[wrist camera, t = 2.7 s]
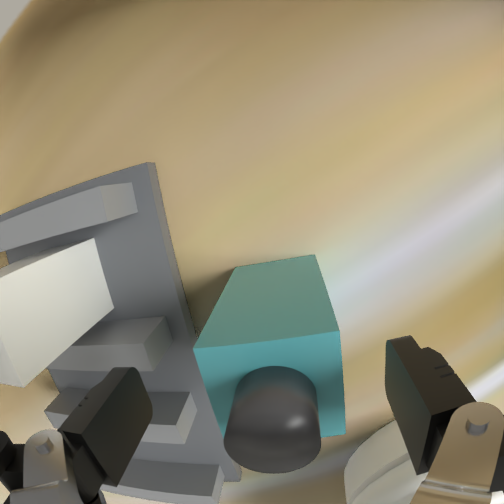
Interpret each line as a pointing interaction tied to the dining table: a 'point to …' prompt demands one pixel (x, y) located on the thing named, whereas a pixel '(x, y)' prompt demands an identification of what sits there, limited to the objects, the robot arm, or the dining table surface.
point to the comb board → (133, 330)
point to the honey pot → (385, 471)
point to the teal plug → (274, 365)
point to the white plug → (48, 307)
